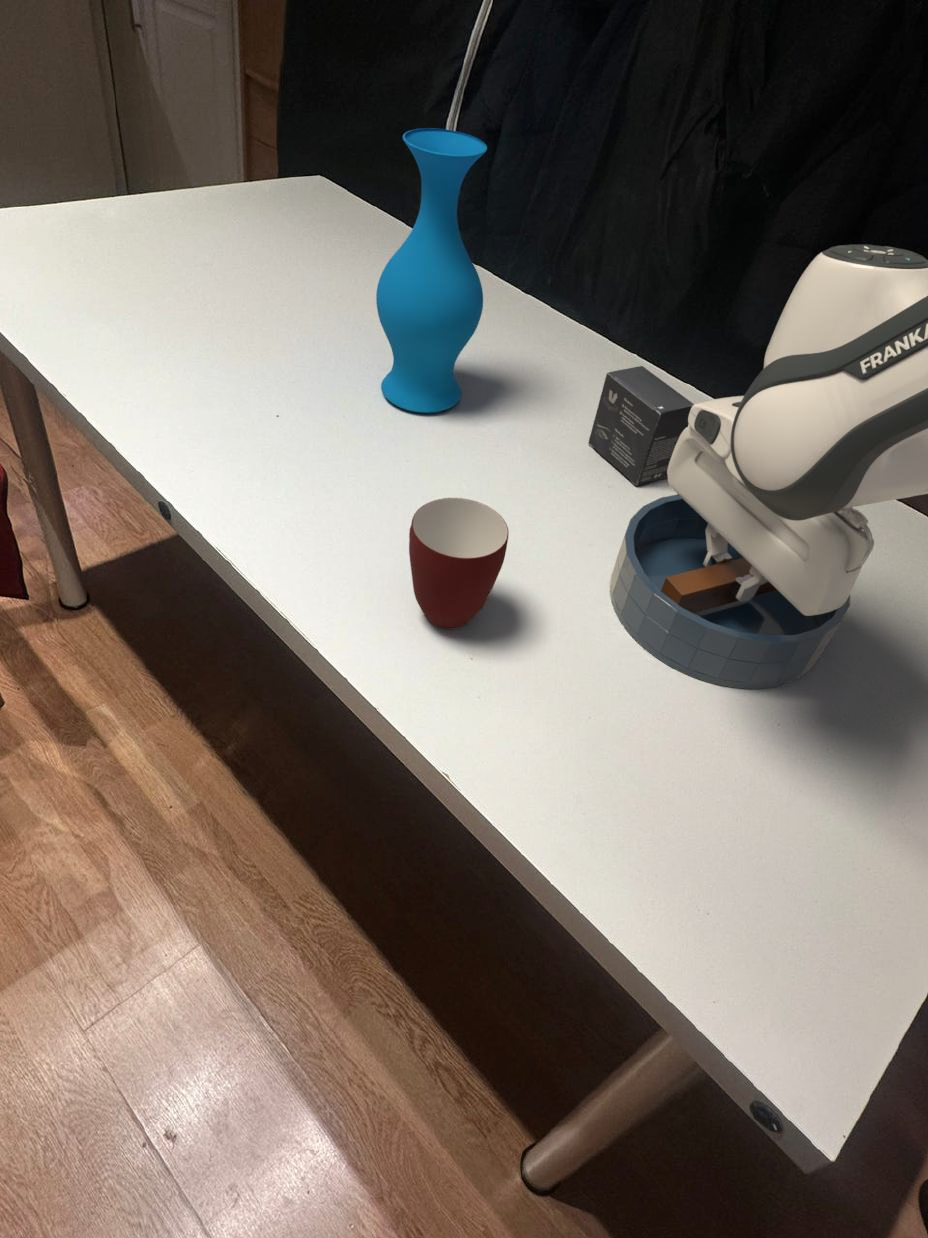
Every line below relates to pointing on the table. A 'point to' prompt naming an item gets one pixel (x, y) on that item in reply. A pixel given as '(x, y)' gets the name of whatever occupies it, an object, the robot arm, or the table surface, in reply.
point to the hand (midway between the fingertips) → (726, 582)
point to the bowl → (715, 638)
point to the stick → (709, 585)
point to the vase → (431, 280)
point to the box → (638, 423)
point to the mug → (455, 558)
